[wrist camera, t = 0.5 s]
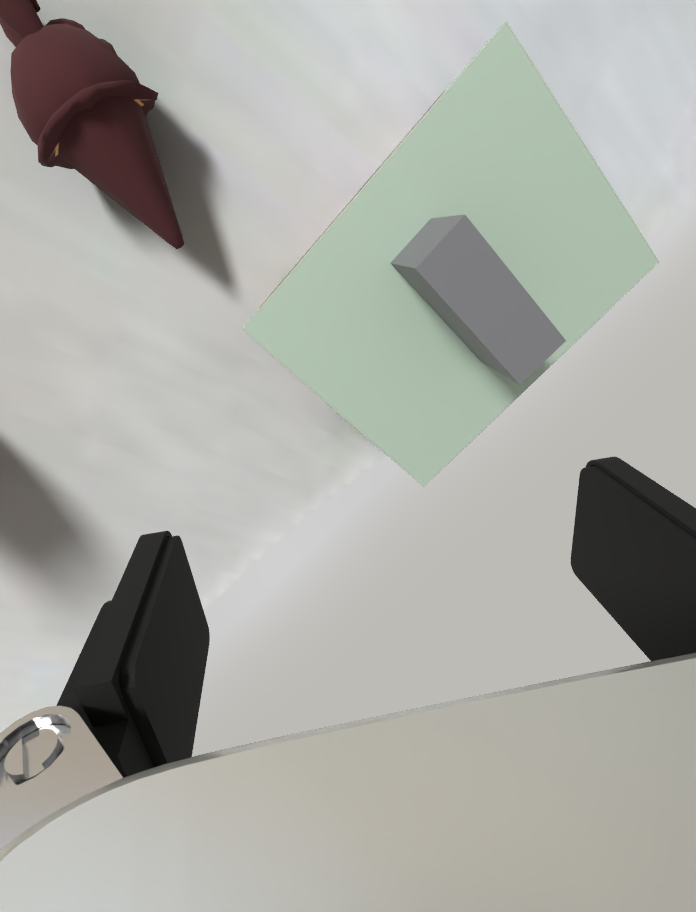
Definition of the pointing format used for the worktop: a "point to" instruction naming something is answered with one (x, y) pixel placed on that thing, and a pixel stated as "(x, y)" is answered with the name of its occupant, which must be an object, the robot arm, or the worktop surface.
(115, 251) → the worktop surface
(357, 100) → the worktop surface
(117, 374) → the worktop surface
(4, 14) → the icecream
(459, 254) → the lid
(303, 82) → the worktop surface
